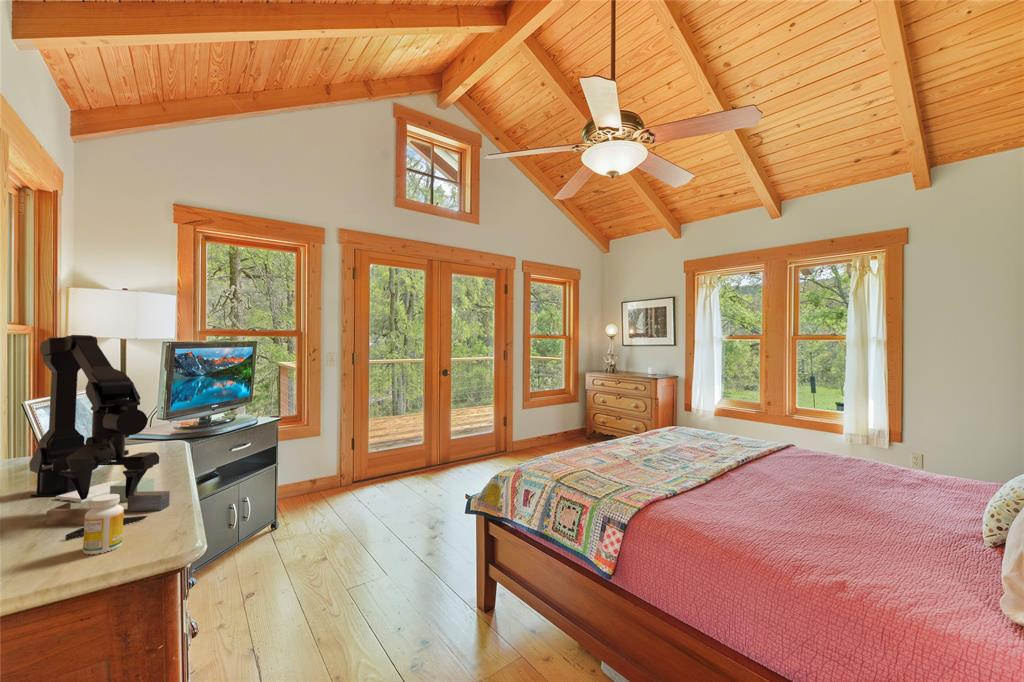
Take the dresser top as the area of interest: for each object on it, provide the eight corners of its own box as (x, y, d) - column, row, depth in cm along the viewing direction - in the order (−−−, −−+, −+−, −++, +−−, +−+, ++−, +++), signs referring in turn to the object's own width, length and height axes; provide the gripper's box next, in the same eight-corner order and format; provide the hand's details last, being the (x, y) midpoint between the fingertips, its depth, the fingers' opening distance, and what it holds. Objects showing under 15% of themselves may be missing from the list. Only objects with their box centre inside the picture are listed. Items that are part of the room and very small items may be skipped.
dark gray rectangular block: (127, 511, 100) (127, 495, 100) (136, 506, 103) (137, 491, 103) (160, 510, 101) (161, 495, 101) (169, 505, 103) (169, 490, 104)
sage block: (109, 502, 106) (110, 485, 106) (127, 494, 112) (128, 478, 112) (136, 501, 107) (137, 485, 107) (153, 493, 113) (154, 478, 113)
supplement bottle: (84, 558, 78) (86, 504, 78) (81, 549, 81) (83, 497, 81) (124, 548, 82) (126, 496, 82) (119, 539, 85) (121, 490, 85)
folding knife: (148, 519, 96) (148, 510, 96) (150, 520, 95) (150, 511, 95) (64, 541, 85) (65, 530, 85) (66, 542, 84) (66, 532, 84)
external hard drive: (135, 489, 117) (81, 504, 105) (110, 486, 119) (54, 502, 107) (135, 482, 117) (81, 498, 105) (110, 480, 119) (55, 495, 107)
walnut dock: (46, 525, 91) (47, 511, 91) (67, 516, 96) (68, 502, 96) (96, 523, 93) (97, 509, 93) (115, 514, 98) (115, 501, 98)
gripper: (29, 438, 92) (26, 512, 91) (127, 437, 94) (124, 510, 94) (75, 428, 103) (72, 495, 102) (162, 428, 105) (159, 493, 105)
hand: (106, 498), depth 100 cm, fingers open, 9 cm apart
